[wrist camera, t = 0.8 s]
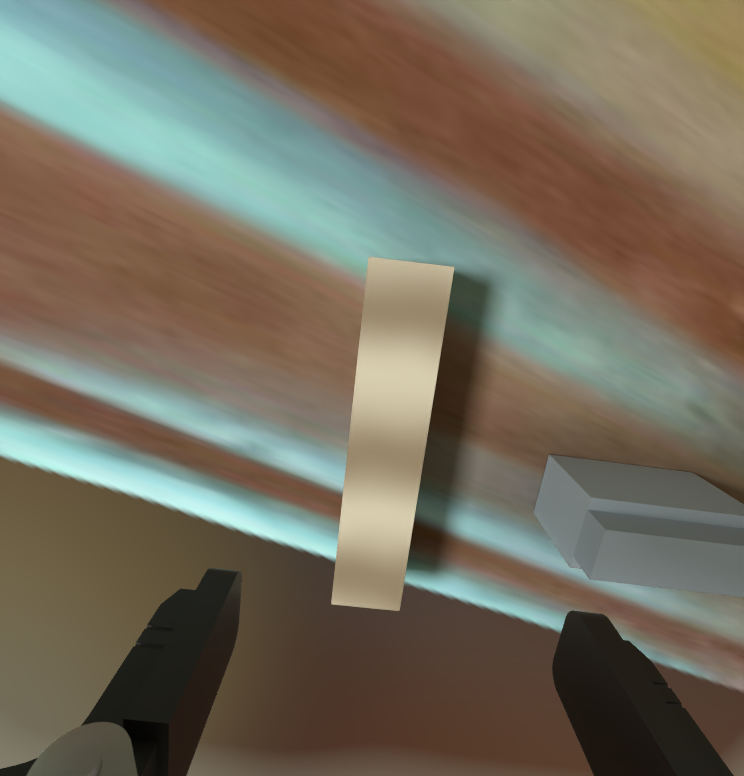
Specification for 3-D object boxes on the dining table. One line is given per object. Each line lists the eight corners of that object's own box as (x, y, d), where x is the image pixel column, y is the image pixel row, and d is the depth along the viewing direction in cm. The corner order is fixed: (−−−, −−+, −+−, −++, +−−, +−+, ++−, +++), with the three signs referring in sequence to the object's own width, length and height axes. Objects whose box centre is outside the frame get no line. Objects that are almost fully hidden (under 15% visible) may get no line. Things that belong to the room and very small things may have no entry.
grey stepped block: (549, 454, 23) (609, 516, 17) (692, 472, 23) (800, 540, 17) (533, 513, 24) (585, 591, 18) (671, 529, 24) (767, 611, 18)
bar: (369, 259, 20) (368, 256, 17) (441, 267, 21) (454, 267, 17) (337, 559, 25) (331, 604, 22) (396, 565, 25) (399, 610, 22)
